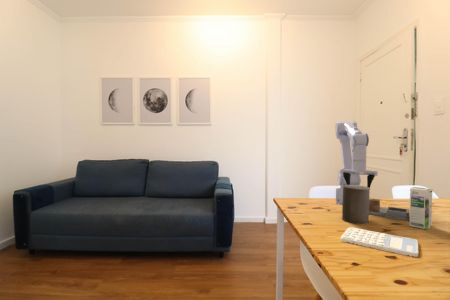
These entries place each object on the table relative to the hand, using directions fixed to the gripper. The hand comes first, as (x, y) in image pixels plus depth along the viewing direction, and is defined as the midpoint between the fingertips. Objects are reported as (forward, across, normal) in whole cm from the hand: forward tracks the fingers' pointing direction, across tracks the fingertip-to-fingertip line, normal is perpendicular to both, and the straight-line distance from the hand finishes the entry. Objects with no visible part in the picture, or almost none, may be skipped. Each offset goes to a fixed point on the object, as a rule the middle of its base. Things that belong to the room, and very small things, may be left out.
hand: (358, 190), depth 115 cm
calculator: (+11, +11, -35) cm, 38 cm away
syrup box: (+10, +22, -8) cm, 26 cm away
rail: (+10, +9, 0) cm, 14 cm away
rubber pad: (+10, +9, +12) cm, 18 cm away
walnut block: (+8, +6, 0) cm, 10 cm away
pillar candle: (+10, +1, -14) cm, 17 cm away
